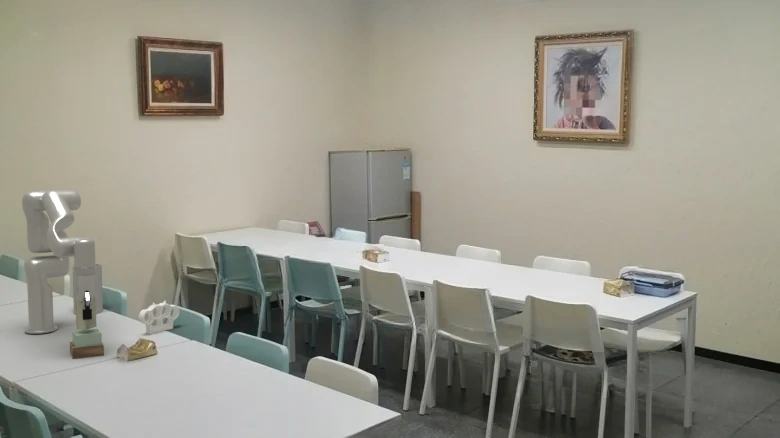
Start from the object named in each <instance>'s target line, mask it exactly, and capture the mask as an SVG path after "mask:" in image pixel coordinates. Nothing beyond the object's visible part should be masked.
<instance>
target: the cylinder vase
mask: <svg viewBox="0 0 780 438" xmlns="http://www.w3.org/2000/svg"><path fill="white" fill-rule="evenodd" d="M95 265H96V275H94V276H93V296H96V315H100V314H101V313H103V311H104V307H103V305H104V303H103V302H104V300H103V271H102V269H103V268H102V267H103V266H102V264H100V263H95ZM72 293H73V297H72V298H73V299H72V300H73V314H74V316H76V298H77V276H74V265H72Z"/></svg>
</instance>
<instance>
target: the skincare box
mask: <svg viewBox="0 0 780 438" xmlns="http://www.w3.org/2000/svg"><path fill="white" fill-rule="evenodd" d="M84 301H86V299H84ZM82 309H83V301H81V303H80V302H79V301H78V298H76V315H75V318H76V319H75V321H76V325H75V327H76V330H88V329H95V328H96V327H97V314H96V296H93V301H91V309H92V319H90V320H83V310H82Z"/></svg>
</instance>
